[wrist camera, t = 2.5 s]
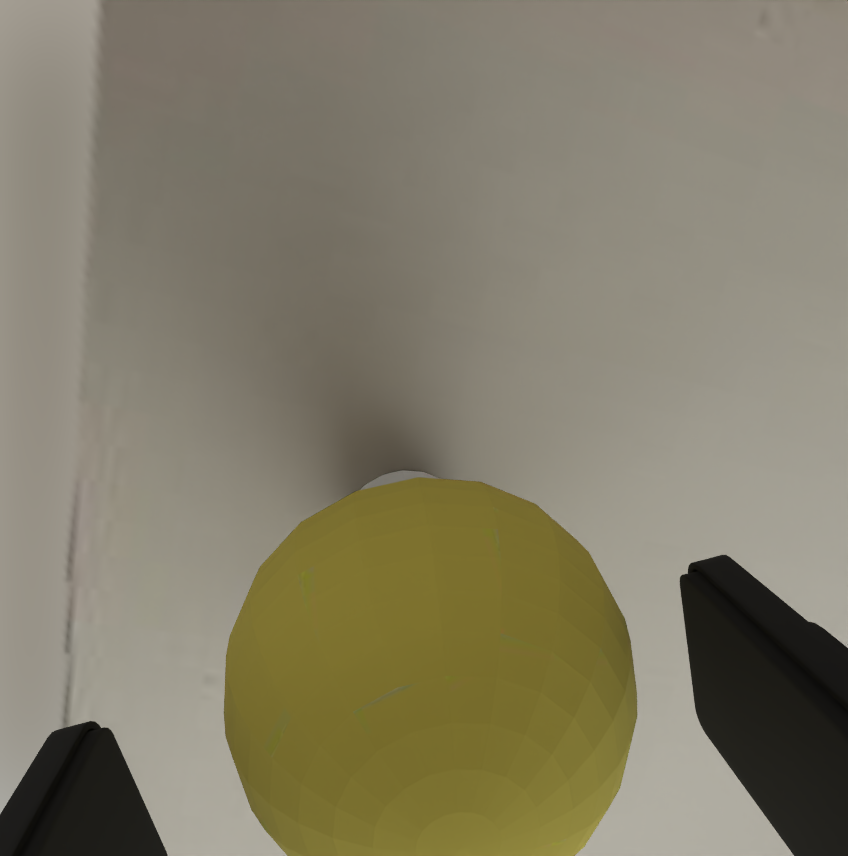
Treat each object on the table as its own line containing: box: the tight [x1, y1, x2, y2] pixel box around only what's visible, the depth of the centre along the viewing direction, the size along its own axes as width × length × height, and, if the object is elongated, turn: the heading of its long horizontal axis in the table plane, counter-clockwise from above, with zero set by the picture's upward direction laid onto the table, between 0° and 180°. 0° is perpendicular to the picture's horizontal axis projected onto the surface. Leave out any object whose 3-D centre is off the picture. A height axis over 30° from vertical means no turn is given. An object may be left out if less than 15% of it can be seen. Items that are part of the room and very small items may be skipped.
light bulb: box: [224, 470, 637, 856], centre depth 13 cm, size 7×7×10 cm
